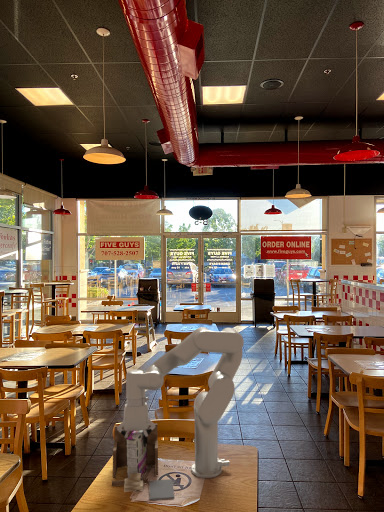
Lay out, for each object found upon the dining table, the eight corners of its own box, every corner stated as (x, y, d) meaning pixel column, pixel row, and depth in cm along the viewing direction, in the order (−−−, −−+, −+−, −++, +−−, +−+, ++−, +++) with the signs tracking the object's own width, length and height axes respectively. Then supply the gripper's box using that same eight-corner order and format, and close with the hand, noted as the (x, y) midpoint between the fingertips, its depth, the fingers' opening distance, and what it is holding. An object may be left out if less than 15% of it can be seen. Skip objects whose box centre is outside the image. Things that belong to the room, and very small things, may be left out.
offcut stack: (142, 484, 152) (142, 472, 152) (142, 490, 147) (142, 478, 147) (124, 485, 151) (124, 473, 151) (124, 492, 147) (123, 479, 147)
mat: (172, 480, 154) (172, 479, 154) (174, 498, 142) (174, 496, 142) (149, 482, 153) (149, 480, 153) (149, 500, 141) (149, 498, 141)
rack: (157, 463, 168) (157, 423, 168) (158, 482, 153) (158, 438, 153) (114, 466, 166) (114, 425, 166) (111, 486, 151) (111, 441, 151)
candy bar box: (136, 466, 165) (135, 427, 165) (147, 467, 164) (146, 428, 164) (126, 481, 154) (125, 438, 154) (138, 482, 153) (137, 439, 153)
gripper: (156, 397, 164) (157, 440, 164) (115, 399, 162) (115, 443, 162) (157, 403, 157) (158, 448, 156) (113, 405, 155) (114, 452, 154)
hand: (136, 445), depth 159 cm, fingers closed on candy bar box, 6 cm apart
